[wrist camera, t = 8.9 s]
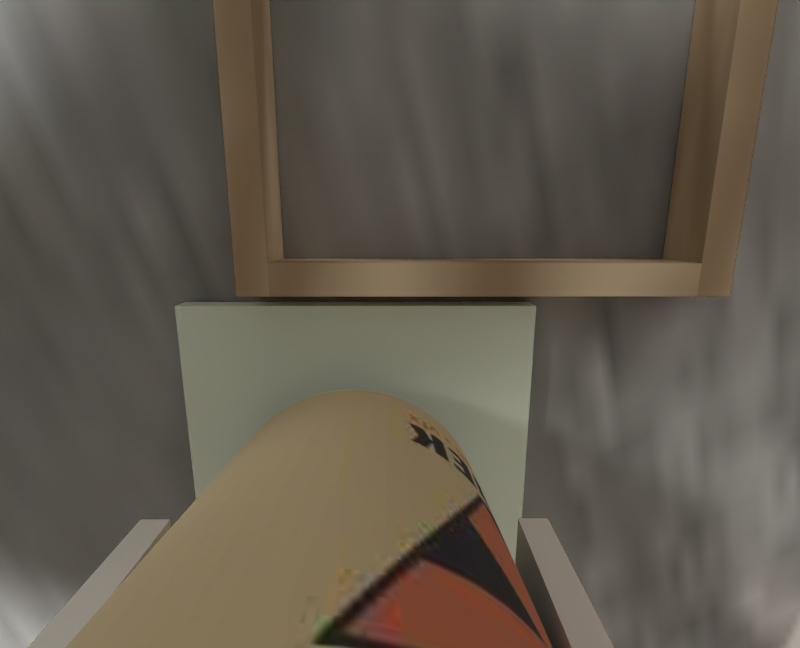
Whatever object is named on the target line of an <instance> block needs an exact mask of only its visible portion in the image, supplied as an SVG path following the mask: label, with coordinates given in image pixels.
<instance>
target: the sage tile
mask: <svg viewBox="0 0 800 648" xmlns="http://www.w3.org/2000/svg"><path fill="white" fill-rule="evenodd" d="M174 307H175V316H176V325H177V334H178V343H179V352H180V361H181V370H182V379H183V388H184V398H185V407H186V416H187V425H188V434H189V443H190V452H191V461H192V470H193V479H194V488H195V497H196V499H197V498H198V496H199V495H200V494H201V493H202V492H203V491H204V490H205V489H206V488H207V486H208V485H209V484H210V483H211V482H212V481H213V480H214V479H215V477H216V476H217V475H218V474H219V473H220V472H221V471H222V470H223V468H224V467H225V466H226V465H227V464H228V463H229V462H230V461H231V459H232V458H233V457H234V456H235V455H236V454H237V453H238V452H239V450H240V449H241V448H242V447H243V446H244V445H245V444H246V443H247V442H248V441H249V440H250V439H251V438H252V437H253V436H254V435H255V434H256V433H257V432H258V431H259V430H260V429H261V428H262V427H263V426H264V425H265V424H266V423H267V422H268V421H269V420H270V419H271V418H272V417H274V416H275V415H276V414H277V413H279V412H280V411H281V410H283V409H285V408H286V407H288V406H290V405H291V404H293V403H295V402H297V401H300V400H302V399H304V398H306V397H309V396H312V395H315V394H319V393H323V392H327V391H331V390H340V389H353V388H357V389H370V390H377V391H381V392H385V393H390V394H393V395H396V396H399V397H401V398H404V399H406V400H409V401H411V402H413V403H415V404H416V405H418V406H419V407H421V408H422V409H424V410H426V411H427V412H428V413H430V414H431V415H432V416H434V417H435V418H436V419H437V420H438V421H439V422H440V423H441V424H442V425H444V426H445V427H446V429H447V430H448V431H449V432H450V434H451V435H452V436H453V437H454V438H455V440H456V441H457V443H458V445H459V446H460V448H461V450H462V452H463V453H464V455H465V457H466V459H467V460H468V462H469V464H470V467H471V469H472V471H473V473H474V475H475V477H476V479H477V481H478V483H479V485H480V488H481V490H482V492H483V494H484V497H485V499H486V501H487V503H488V505H489V508H490V510H491V512H492V514H493V516H494V519H495V521H496V523H497V525H498V527H499V530H500V532H501V534H502V536H503V539H504V541H505V543H506V545H507V547H508V550H509V552H510V554H511V556H512V558H513V561H514V563H515V559H516V544H517V528H518V518H522V510H523V495H524V480H525V466H526V451H527V436H528V422H529V407H530V392H531V378H532V363H533V348H534V334H535V319H536V305H534V304H532V303H530V302H184V303H181V304H179V305H176V306H174Z"/></svg>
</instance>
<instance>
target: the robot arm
mask: <svg viewBox="0 0 800 648" xmlns="http://www.w3.org/2000/svg"><path fill="white" fill-rule="evenodd" d="M170 528H171V521H170V519H140V521H139V522H138V523H137V524H136V525H135V526H134V527H133V529H132V530H131V531H130V532H129V533H128V534H127V535H126V536H125V538H124V539H123V540H122V541H121V542H120V543H119V544H118V546H117V547H116V548H115V549H114V550H113V551H112V552H111V554H110V555H109V556H108V557H107V558H106V559H105V560H104V561H103V563H102V564H101V565H100V566H99V567H98V568H97V569H96V571H95V572H94V573H93V574H92V575H91V576H90V577H89V578H88V580H87V581H86V582H85V583H84V584H83V585H82V586H81V588H80V589H79V590H78V591H77V592H76V593H75V594H74V596H73V597H72V598H71V599H70V600H69V601H68V602H67V603H66V605H65V606H64V607H63V608H62V609H61V610H60V611H59V613H58V614H57V615H56V616H55V617H54V618H53V619H52V621H51V622H50V623H49V624H48V625H47V626H46V627H45V628H44V630H43V631H42V632H41V633H40V634H39V635H38V636H37V638H36V639H35V640H34V641H33V642H32V643H31V644H30V645H29V647H28V648H65V647H66V646H67V645H68V644H69V643H70V642H71V640H72V639H73V638H74V637H75V636H76V635H77V634H78V633H79V631H80V630H81V629H82V628H83V627H84V626H85V625H86V623H87V622H88V621H89V620H90V619H91V618H92V617H93V615H94V614H95V613H96V612H97V611H98V610H99V609H100V607H101V606H102V605H103V604H104V603H105V602H106V601H107V600H108V598H109V597H110V596H111V595H112V594H113V593H114V592H115V590H116V589H117V588H118V587H119V586H120V585H121V584H122V582H123V581H124V580H125V579H126V578H127V577H128V576H129V574H130V573H131V572H132V571H133V570H134V569H135V568H136V566H137V565H138V564H139V563H140V562H141V561H142V560H143V559H144V557H145V556H146V555H147V554H148V553H149V552H150V551H151V549H152V548H153V547H154V546H155V545H156V544H157V543H158V541H159V540H160V539H161V538H162V537H163V536H164V535H165V534H166V532H167V531H168V530H169V529H170ZM515 565H516V567H517V570H518V572H519V574H520V576H521V578H522V581H523V583H524V585H525V587H526V589H527V592H528V594H529V596H530V598H531V601H532V603H533V605H534V607H535V609H536V612H537V614H538V616H539V618H540V620H541V623H542V625H543V627H544V629H545V632H546V634H547V636H548V638H549V641H550V643H551V645H552V647H553V648H614V646H613V644H612V642H611V640H610V638H609V636H608V635H607V633H606V631H605V629H604V627H603V625H602V623H601V621H600V619H599V617H598V615H597V613H596V611H595V609H594V607H593V605H592V603H591V602H590V600H589V598H588V596H587V594H586V592H585V590H584V588H583V586H582V584H581V582H580V580H579V578H578V576H577V574H576V572H575V570H574V569H573V567H572V565H571V563H570V561H569V559H568V557H567V555H566V553H565V551H564V549H563V547H562V545H561V543H560V541H559V539H558V537H557V536H556V534H555V532H554V530H553V528H552V526H551V524H550V522H549V520H548V518H518V528H517V544H516V559H515Z"/></svg>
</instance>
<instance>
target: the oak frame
mask: <svg viewBox="0 0 800 648" xmlns="http://www.w3.org/2000/svg"><path fill="white" fill-rule="evenodd" d="M777 4H778V0H696V2H695V10H694V17H693V25H692V33H691V41H690V49H689V57H688V64H687V72H686V80H685V88H684V96H683V104H682V111H681V119H680V127H679V135H678V143H677V151H676V159H675V166H674V174H673V182H672V190H671V198H670V206H669V213H668V221H667V229H666V237H665V245H664V253H663V259H284V251H283V233H282V215H281V197H280V178H279V160H278V142H277V124H276V106H275V88H274V70H273V52H272V33H271V15H270V0H213V13H214V26H215V38H216V51H217V63H218V76H219V88H220V101H221V113H222V126H223V139H224V151H225V164H226V176H227V189H228V201H229V214H230V226H231V239H232V252H233V264H234V277H235V289H236V297H602V296H730V292H731V286H732V280H733V274H734V268H735V261H736V255H737V249H738V243H739V237H740V231H741V225H742V218H743V212H744V206H745V200H746V194H747V188H748V182H749V175H750V169H751V163H752V157H753V151H754V145H755V139H756V132H757V126H758V120H759V114H760V108H761V102H762V96H763V90H764V83H765V77H766V71H767V65H768V59H769V53H770V47H771V40H772V34H773V28H774V22H775V16H776V10H777Z"/></svg>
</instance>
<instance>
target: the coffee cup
mask: <svg viewBox="0 0 800 648" xmlns="http://www.w3.org/2000/svg"><path fill="white" fill-rule="evenodd" d="M65 648H553V647H552V645H551V643H550V641H549V638H548V636H547V634H546V632H545V629H544V627H543V625H542V623H541V620H540V618H539V616H538V614H537V612H536V609H535V607H534V605H533V603H532V601H531V598H530V596H529V594H528V592H527V589H526V587H525V585H524V583H523V581H522V578H521V576H520V574H519V572H518V570H517V567H516V565H515V563H514V561H513V558H512V556H511V554H510V552H509V550H508V547H507V545H506V543H505V541H504V539H503V536H502V534H501V532H500V530H499V527H498V525H497V523H496V521H495V519H494V516H493V514H492V512H491V510H490V508H489V505H488V503H487V501H486V499H485V497H484V494H483V492H482V490H481V488H480V485H479V483H478V481H477V479H476V477H475V475H474V473H473V471H472V469H471V467H470V464H469V462H468V460H467V459H466V457H465V455H464V453H463V452H462V450H461V448H460V446H459V445H458V443H457V441H456V440H455V438H454V437H453V436H452V435H451V434H450V432H449V431H448V430H447V429H446V427H445V426H444V425H442V424H441V423H440V422H439V421H438V420H437V419H436V418H435V417H434V416H432V415H431V414H430V413H428V412H427V411H426V410H424V409H422V408H421V407H419V406H418V405H416V404H415V403H413V402H411V401H409V400H406V399H404V398H401V397H399V396H396V395H393V394H390V393H385V392H381V391H377V390H370V389H357V388H353V389H340V390H331V391H327V392H323V393H319V394H315V395H312V396H309V397H306V398H304V399H302V400H300V401H297V402H295V403H293V404H291V405H290V406H288V407H286V408H285V409H283V410H281V411H280V412H279V413H277V414H276V415H275V416H274V417H272V418H271V419H270V420H269V421H268V422H267V423H266V424H265V425H264V426H263V427H262V428H261V429H260V430H259V431H258V432H257V433H256V434H255V435H254V436H253V437H252V438H251V439H250V440H249V441H248V442H247V443H246V444H245V445H244V446H243V447H242V448H241V449H240V450H239V452H238V453H237V454H236V455H235V456H234V457H233V458H232V459H231V461H230V462H229V463H228V464H227V465H226V466H225V467H224V468H223V470H222V471H221V472H220V473H219V474H218V475H217V476H216V477H215V479H214V480H213V481H212V482H211V483H210V484H209V485H208V486H207V488H206V489H205V490H204V491H203V492H202V493H201V494H200V495H199V496H198V498H197V499H196V500H195V501H194V502H193V503H192V504H191V505H190V507H189V508H188V509H187V510H186V511H185V512H184V513H183V514H182V516H181V517H180V518H179V519H178V520H177V521H176V522H175V523H174V525H173V526H172V527H171V528H170V529H169V530H168V531H167V532H166V534H165V535H164V536H163V537H162V538H161V539H160V540H159V541H158V543H157V544H156V545H155V546H154V547H153V548H152V549H151V551H150V552H149V553H148V554H147V555H146V556H145V557H144V559H143V560H142V561H141V562H140V563H139V564H138V565H137V566H136V568H135V569H134V570H133V571H132V572H131V573H130V574H129V576H128V577H127V578H126V579H125V580H124V581H123V582H122V584H121V585H120V586H119V587H118V588H117V589H116V590H115V592H114V593H113V594H112V595H111V596H110V597H109V598H108V600H107V601H106V602H105V603H104V604H103V605H102V606H101V607H100V609H99V610H98V611H97V612H96V613H95V614H94V615H93V617H92V618H91V619H90V620H89V621H88V622H87V623H86V625H85V626H84V627H83V628H82V629H81V630H80V631H79V633H78V634H77V635H76V636H75V637H74V638H73V639H72V640H71V642H70V643H69V644H68V645H67V646H66V647H65Z"/></svg>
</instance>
